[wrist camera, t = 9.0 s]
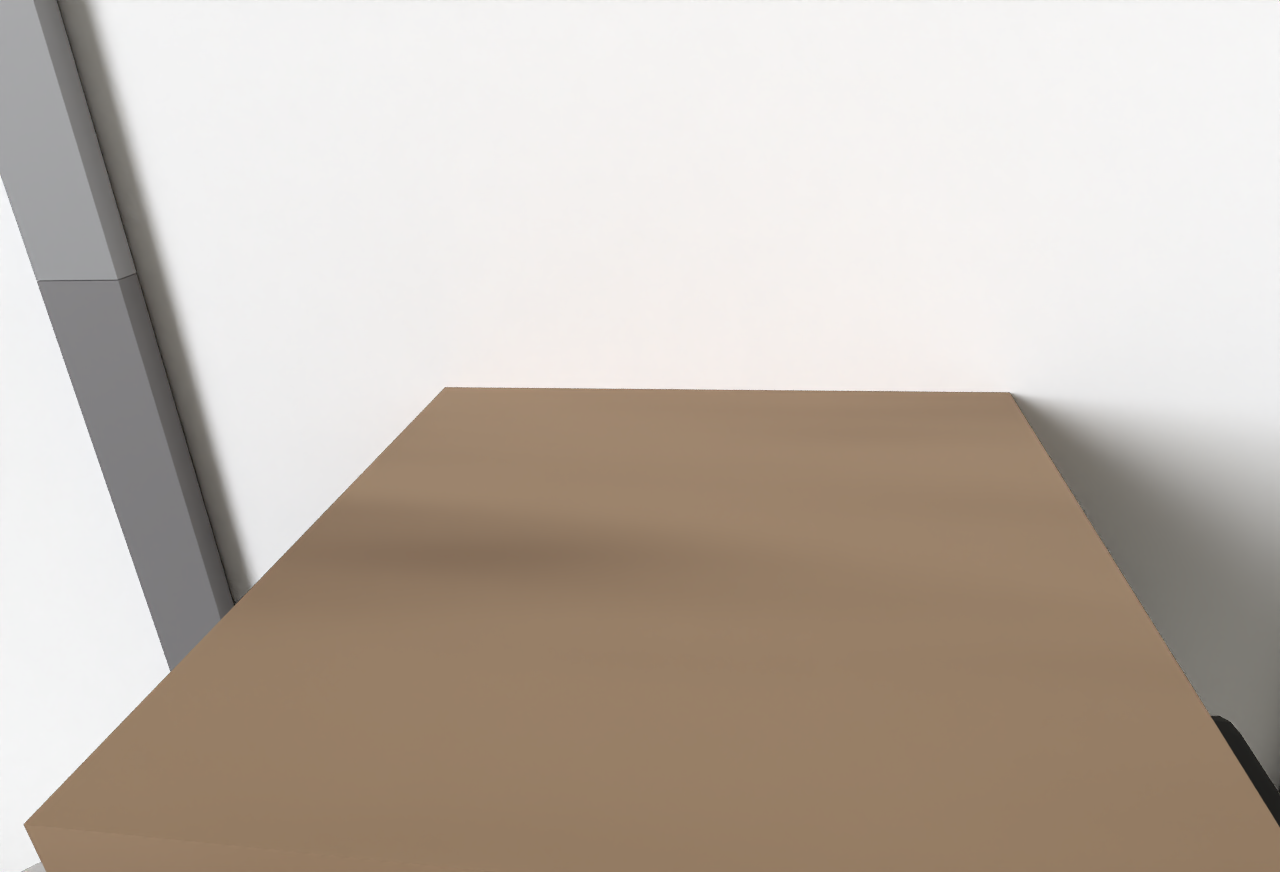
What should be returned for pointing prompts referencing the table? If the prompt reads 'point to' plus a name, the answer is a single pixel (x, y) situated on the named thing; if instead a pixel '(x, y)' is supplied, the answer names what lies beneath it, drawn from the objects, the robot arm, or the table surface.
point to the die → (679, 662)
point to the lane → (104, 324)
